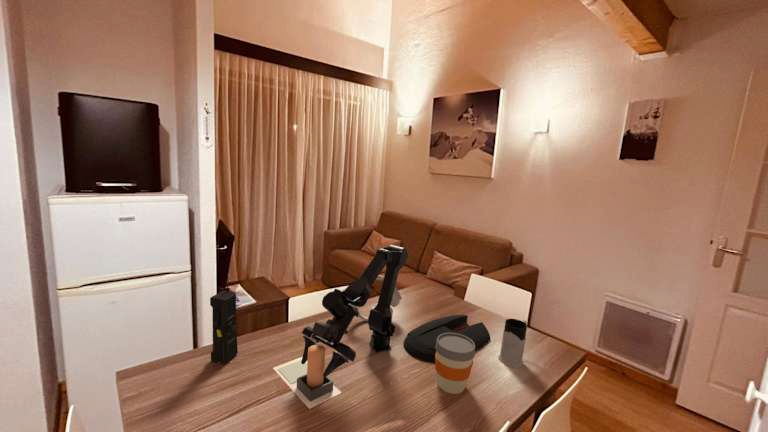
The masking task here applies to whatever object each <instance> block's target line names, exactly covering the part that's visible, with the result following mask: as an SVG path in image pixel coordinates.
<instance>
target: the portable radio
mask: <svg viewBox="0 0 768 432" xmlns="http://www.w3.org/2000/svg"><path fill="white" fill-rule="evenodd" d="M209 301H210V302H209V304H210V307H212V308H211V309H212V351H211V352H210V360H211V361H212V362H213V363H218V364H224V365H225V364H227V363H228V362H230V360H232V359H233V358H234V357H235V356H236V355H238V353H239V351H238V349H239V348H238V330H237V327H238V326H237V294H236V291H230V290H229V284H226V290H222V291H219V292H218V293H217V294H215V295H212V296H211V297H210V299H209Z"/></svg>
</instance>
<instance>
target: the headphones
mask: <svg viewBox="0 0 768 432" xmlns="http://www.w3.org/2000/svg"><path fill="white" fill-rule="evenodd" d="M383 279H384V275H381V274H379V276H378V277H377V279H376V280H375V282H376V281H383ZM402 300H403V298H402V295H401V294H400V291H399V290H398V288H397V287H396V286H395V289H394V293H393V297H392V301H391V305H390V311H391V314H392V316H393V314H394V309H393V308H397V307H398V306H399V305H400V304H401V301H402ZM350 305H351V304H350ZM351 306H352V307H355V308H357V309H358V317H357V318H359V319H361V320H363V322H364V321H365V322H368V317H369V316H365V315H363V314H361V312H360V310H359V307H358V306H354V305H351ZM376 306H377V304H376V305H373V306H372V307H371V309H374V308H375V307H376Z"/></svg>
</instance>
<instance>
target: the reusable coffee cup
mask: <svg viewBox="0 0 768 432" xmlns="http://www.w3.org/2000/svg"><path fill="white" fill-rule="evenodd" d="M435 348H436V354H435V362H434V363H435V371H436V385H437V386H438V388H439V389H441V390H442V391H443V392H445V393H448V394H452V395H455V394H460V393H463V392H464V391H465V389H466V385H467V380H468V379H469V377H470V375H471V372H472V368H473V364H474V361H473V360H474V358H475V356H476V351H475V344H474V342H473V341H472V340H471V339H470V338H468V337H466V336H464V335H461V334H458V333H443V334H441V335H439V336H438V338H437V341H436V345H435Z"/></svg>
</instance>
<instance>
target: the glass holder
mask: <svg viewBox="0 0 768 432" xmlns="http://www.w3.org/2000/svg"><path fill="white" fill-rule="evenodd" d="M527 329H528V323H527V320H524V319H523V320H519V319H516V318H507V319H505V322H504V329H503V332H502V338H501V339H502V341H501V347H500V351H499V355H498V360H499V362H501V364H503V365H505V366H507V367H509V368H521V367H523V366H524V362H523V359H524V358H523V357H524V352H525V351H524V350H525V344H526V341H527V340H526V339H527V338H526V337H527V336H526V335H527Z"/></svg>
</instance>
